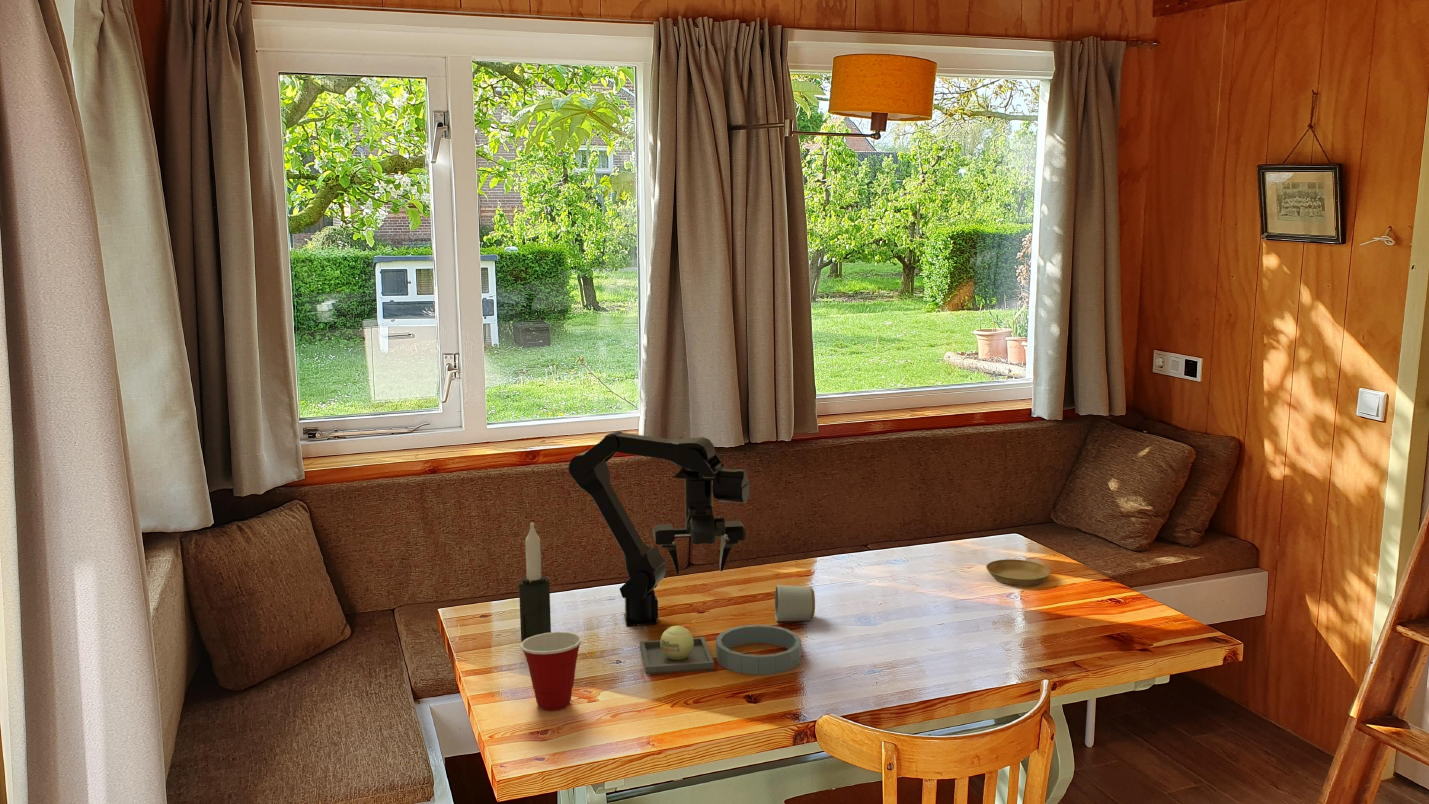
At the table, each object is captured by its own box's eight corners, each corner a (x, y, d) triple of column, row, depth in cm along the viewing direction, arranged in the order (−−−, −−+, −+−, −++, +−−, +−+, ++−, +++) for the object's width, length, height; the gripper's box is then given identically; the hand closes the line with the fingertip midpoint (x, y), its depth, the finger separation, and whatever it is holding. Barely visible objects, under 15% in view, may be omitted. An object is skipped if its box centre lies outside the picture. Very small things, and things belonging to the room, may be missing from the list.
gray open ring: (724, 677, 205) (724, 659, 205) (710, 644, 221) (710, 627, 221) (809, 671, 208) (809, 653, 207) (790, 638, 224) (790, 622, 223)
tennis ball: (654, 625, 212) (683, 631, 209) (673, 619, 218) (701, 625, 214) (652, 658, 213) (681, 665, 209) (671, 651, 218) (699, 658, 215)
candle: (553, 638, 225) (549, 520, 221) (541, 647, 220) (537, 526, 216) (531, 635, 227) (526, 518, 223) (519, 644, 222) (514, 524, 218)
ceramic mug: (816, 625, 231) (816, 590, 230) (777, 626, 231) (777, 591, 229) (808, 608, 242) (809, 575, 240) (771, 609, 241) (772, 576, 240)
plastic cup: (562, 685, 202) (560, 623, 200) (595, 704, 194) (594, 640, 192) (510, 702, 195) (508, 638, 193) (543, 723, 187) (541, 656, 185)
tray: (646, 674, 207) (646, 667, 206) (639, 648, 219) (639, 641, 219) (714, 669, 209) (714, 662, 208) (704, 644, 221) (704, 637, 221)
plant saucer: (1060, 578, 261) (1061, 567, 261) (1033, 594, 250) (1033, 583, 250) (1003, 565, 271) (1003, 555, 270) (974, 580, 260) (975, 569, 259)
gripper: (657, 511, 217) (659, 587, 219) (750, 507, 220) (750, 582, 222) (652, 497, 228) (653, 570, 230) (740, 493, 231) (740, 565, 233)
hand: (699, 572), depth 229 cm, fingers open, 9 cm apart
